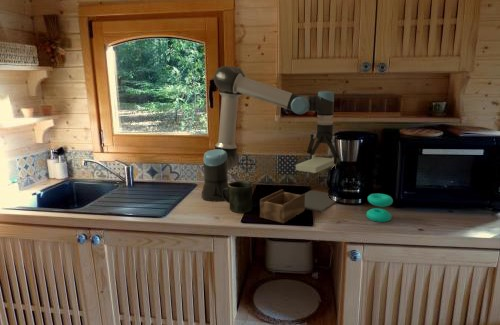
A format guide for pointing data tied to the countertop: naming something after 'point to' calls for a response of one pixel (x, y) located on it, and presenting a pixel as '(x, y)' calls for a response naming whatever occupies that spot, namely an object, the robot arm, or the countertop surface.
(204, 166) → the robot arm
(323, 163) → the lid
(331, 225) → the countertop surface
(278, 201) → the box
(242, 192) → the mug
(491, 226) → the countertop surface
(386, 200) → the donuts
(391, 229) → the countertop surface
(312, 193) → the mat
